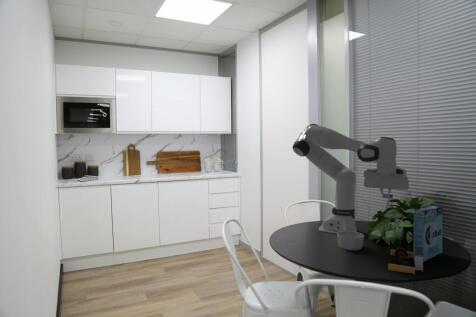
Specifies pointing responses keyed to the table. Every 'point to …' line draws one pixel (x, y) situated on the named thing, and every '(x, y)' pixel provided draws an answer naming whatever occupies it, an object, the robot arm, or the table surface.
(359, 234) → the ramekin
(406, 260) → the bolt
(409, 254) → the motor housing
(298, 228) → the table surface
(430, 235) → the light blue carton box
